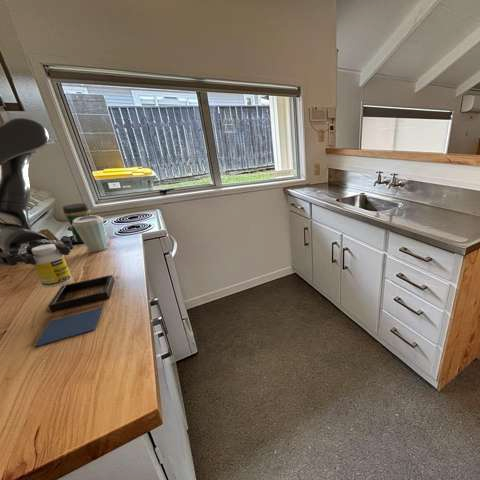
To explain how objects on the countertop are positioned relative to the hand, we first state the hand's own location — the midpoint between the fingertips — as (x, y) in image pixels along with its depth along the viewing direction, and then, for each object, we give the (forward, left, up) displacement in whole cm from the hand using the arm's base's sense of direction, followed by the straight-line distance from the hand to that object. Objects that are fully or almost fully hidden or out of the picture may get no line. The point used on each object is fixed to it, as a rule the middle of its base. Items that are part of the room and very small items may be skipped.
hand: (50, 255), depth 61 cm
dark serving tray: (-1, +16, -20) cm, 26 cm away
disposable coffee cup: (-6, +64, -20) cm, 67 cm away
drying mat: (-1, -1, -20) cm, 20 cm away
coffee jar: (-12, +83, -20) cm, 87 cm away
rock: (-26, +77, -20) cm, 84 cm away
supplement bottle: (-1, +2, -8) cm, 9 cm away
